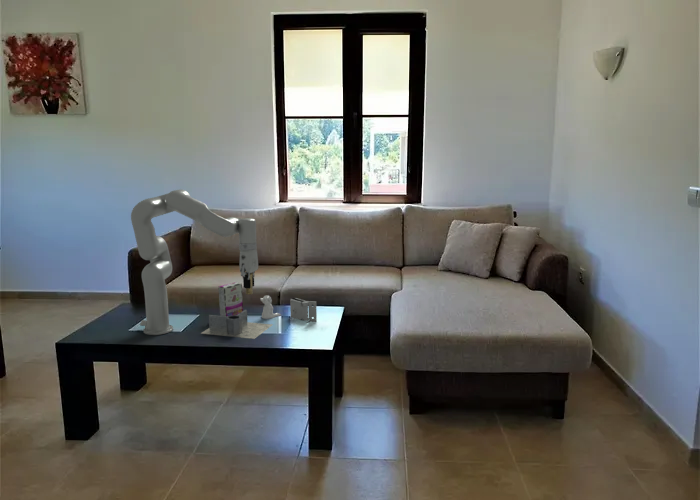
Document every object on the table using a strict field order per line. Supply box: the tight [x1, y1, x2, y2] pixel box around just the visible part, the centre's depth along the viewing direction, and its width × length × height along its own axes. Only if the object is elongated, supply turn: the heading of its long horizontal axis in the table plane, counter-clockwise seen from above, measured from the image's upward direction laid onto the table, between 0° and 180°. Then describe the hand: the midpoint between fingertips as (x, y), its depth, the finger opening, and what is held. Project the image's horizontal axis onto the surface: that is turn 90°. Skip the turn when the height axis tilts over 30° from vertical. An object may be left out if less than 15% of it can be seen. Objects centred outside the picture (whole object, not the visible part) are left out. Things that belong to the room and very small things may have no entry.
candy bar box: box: [217, 281, 244, 316], centre depth 265 cm, size 11×5×16 cm, turn 143°
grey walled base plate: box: [200, 309, 274, 340], centre depth 244 cm, size 26×20×8 cm
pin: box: [245, 273, 254, 296], centre depth 241 cm, size 3×3×10 cm
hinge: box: [289, 297, 318, 324], centre depth 259 cm, size 14×5×10 cm, turn 59°
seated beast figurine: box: [259, 294, 282, 320], centre depth 262 cm, size 10×9×12 cm
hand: (248, 286), depth 241 cm, fingers closed on pin, 3 cm apart
